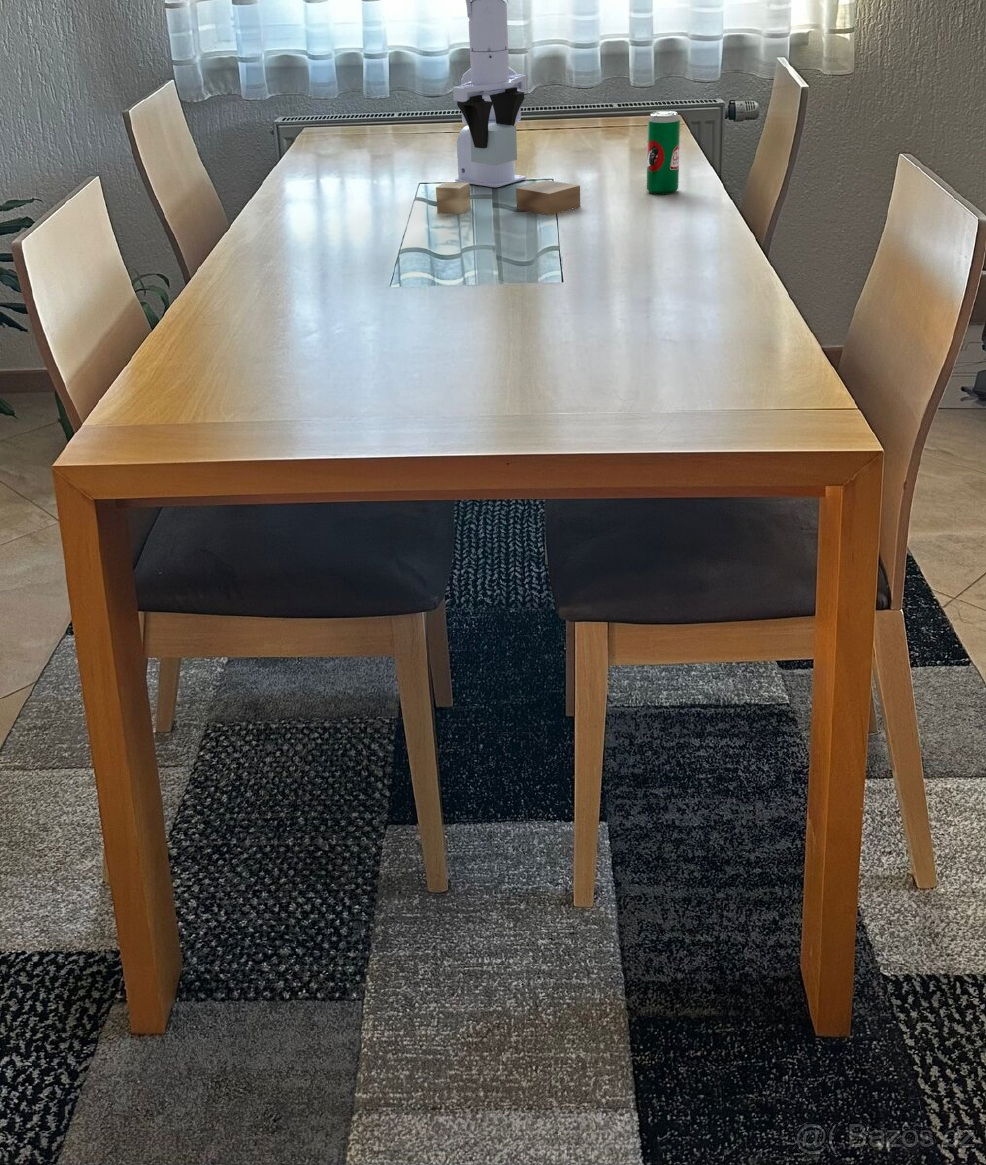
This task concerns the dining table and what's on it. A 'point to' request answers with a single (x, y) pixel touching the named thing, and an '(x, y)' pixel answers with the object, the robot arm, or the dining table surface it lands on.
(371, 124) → the dining table surface
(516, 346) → the dining table surface
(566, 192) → the walnut base
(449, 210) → the oak block
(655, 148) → the soda can
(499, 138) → the light grey cube
